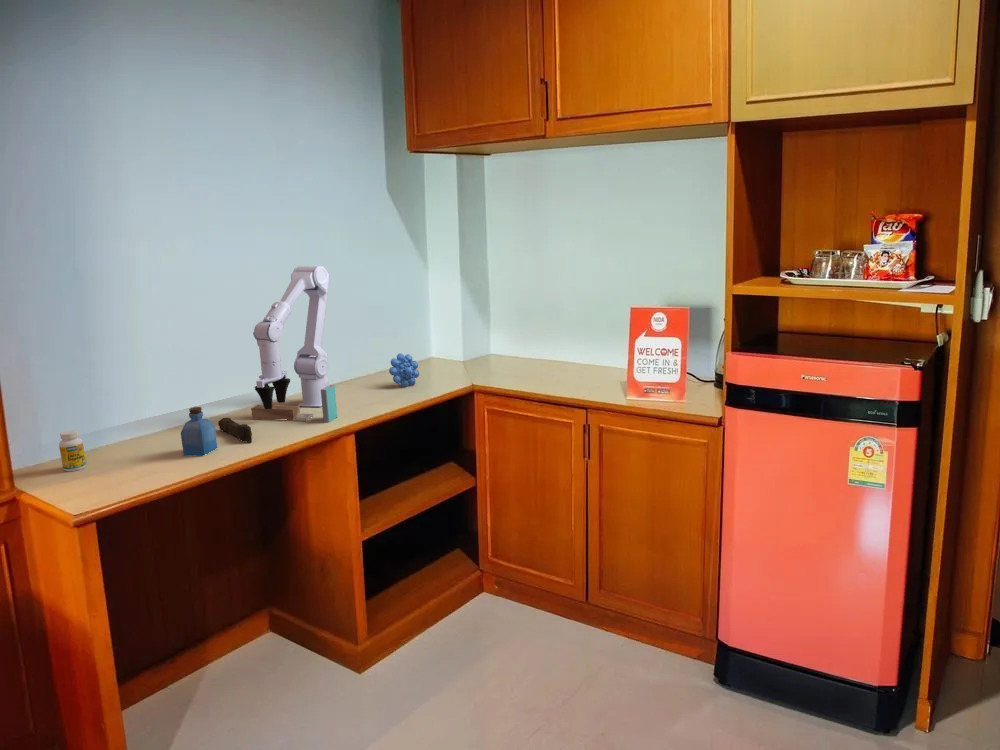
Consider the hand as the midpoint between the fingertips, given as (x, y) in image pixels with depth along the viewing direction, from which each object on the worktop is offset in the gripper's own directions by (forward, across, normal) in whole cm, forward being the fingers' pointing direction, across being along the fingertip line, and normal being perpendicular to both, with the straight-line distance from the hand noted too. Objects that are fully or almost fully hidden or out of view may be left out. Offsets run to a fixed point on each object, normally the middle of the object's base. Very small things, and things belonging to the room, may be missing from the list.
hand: (274, 405), depth 249 cm
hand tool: (+4, +19, -1) cm, 19 cm away
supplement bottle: (+4, +51, -28) cm, 58 cm away
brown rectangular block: (+4, 0, +2) cm, 4 cm away
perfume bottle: (+4, +34, -3) cm, 34 cm away
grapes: (+4, -42, +26) cm, 50 cm away
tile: (+4, 0, +18) cm, 18 cm away
